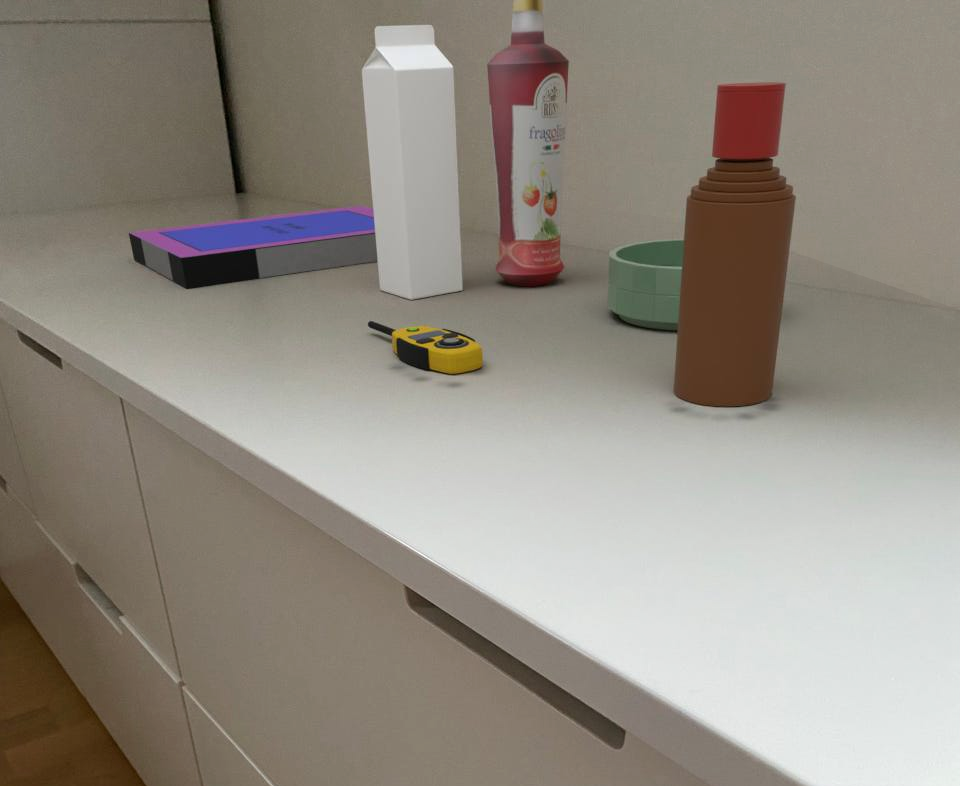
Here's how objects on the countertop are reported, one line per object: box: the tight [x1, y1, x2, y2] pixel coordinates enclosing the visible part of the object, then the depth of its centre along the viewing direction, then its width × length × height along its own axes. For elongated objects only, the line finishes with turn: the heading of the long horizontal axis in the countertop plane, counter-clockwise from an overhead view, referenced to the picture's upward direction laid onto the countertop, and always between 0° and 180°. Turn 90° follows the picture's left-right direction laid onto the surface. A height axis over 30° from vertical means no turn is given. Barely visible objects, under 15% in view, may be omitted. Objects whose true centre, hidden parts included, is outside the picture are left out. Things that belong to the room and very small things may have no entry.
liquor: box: [486, 0, 570, 287], centre depth 90 cm, size 7×7×28 cm
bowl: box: [607, 238, 684, 332], centre depth 83 cm, size 13×13×5 cm
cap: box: [711, 81, 787, 159], centre depth 57 cm, size 4×4×4 cm
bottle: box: [673, 157, 797, 408], centre depth 61 cm, size 6×6×18 cm
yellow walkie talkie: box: [367, 320, 484, 375], centre depth 76 cm, size 5×2×15 cm
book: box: [128, 205, 378, 290], centre depth 114 cm, size 21×3×30 cm
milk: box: [361, 24, 464, 301], centre depth 90 cm, size 6×6×22 cm
